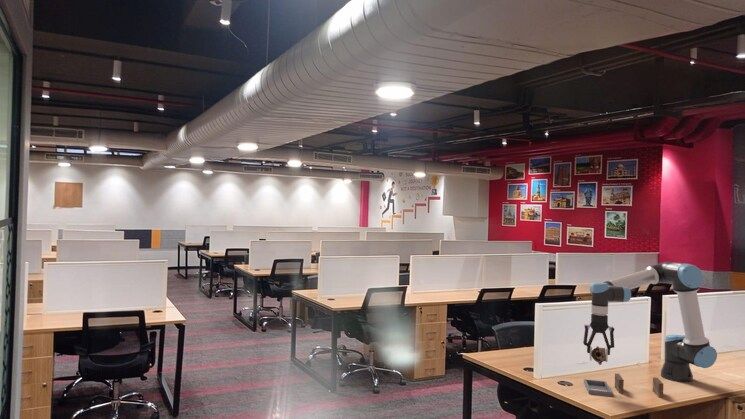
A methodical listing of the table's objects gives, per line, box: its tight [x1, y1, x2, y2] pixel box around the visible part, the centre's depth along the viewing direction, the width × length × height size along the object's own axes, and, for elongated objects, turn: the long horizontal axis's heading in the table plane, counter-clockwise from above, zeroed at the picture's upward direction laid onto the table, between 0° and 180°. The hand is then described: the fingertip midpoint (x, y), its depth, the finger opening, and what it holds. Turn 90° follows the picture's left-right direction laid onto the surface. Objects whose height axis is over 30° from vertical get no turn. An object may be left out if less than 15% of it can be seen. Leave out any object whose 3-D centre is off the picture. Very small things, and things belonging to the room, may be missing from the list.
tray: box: [583, 378, 614, 397], centre depth 254 cm, size 11×17×2 cm, turn 165°
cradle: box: [614, 373, 664, 399], centre depth 252 cm, size 19×10×7 cm, turn 75°
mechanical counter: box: [591, 345, 606, 366], centre depth 254 cm, size 7×13×10 cm, turn 169°
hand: (598, 360), depth 254 cm, fingers closed on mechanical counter, 6 cm apart
